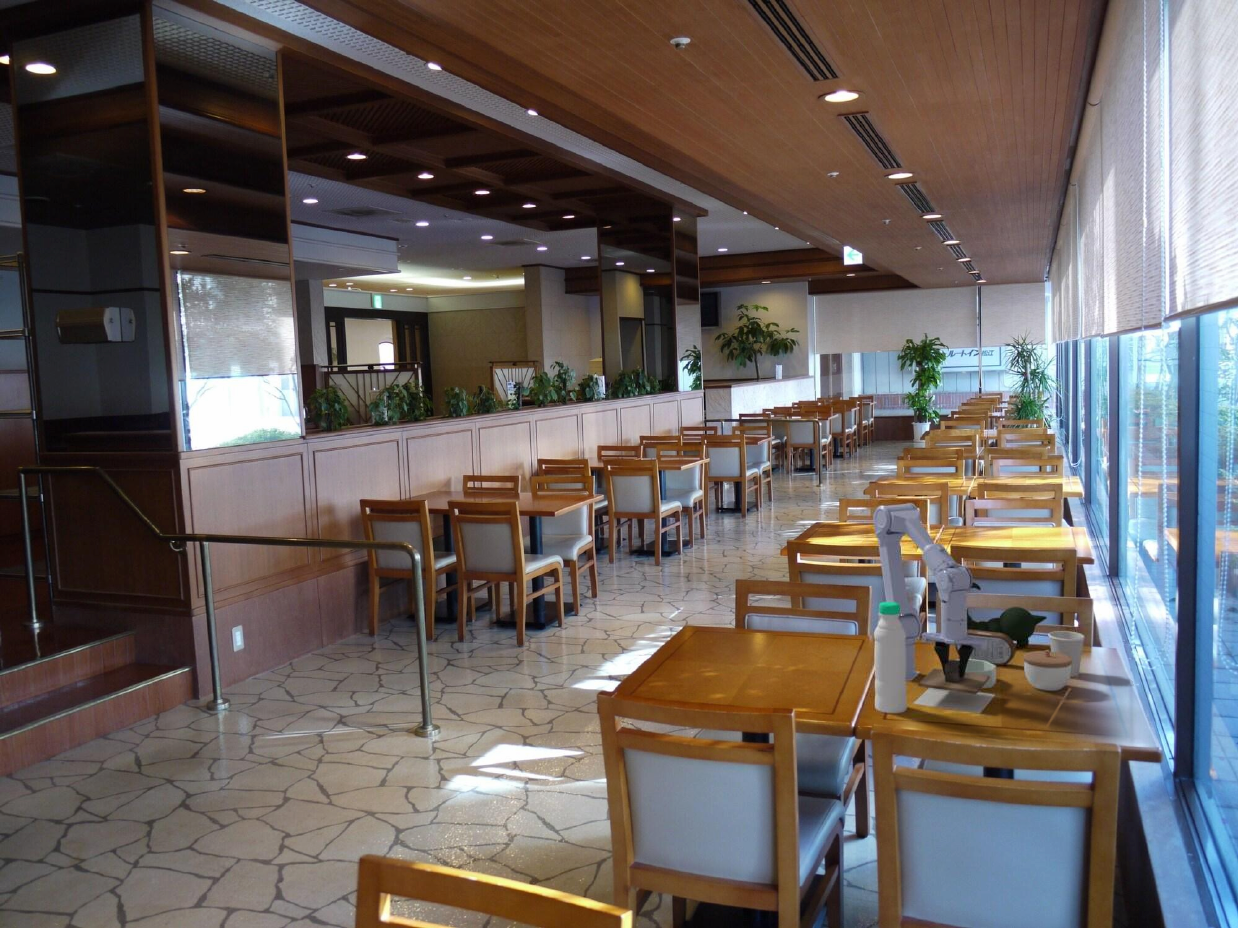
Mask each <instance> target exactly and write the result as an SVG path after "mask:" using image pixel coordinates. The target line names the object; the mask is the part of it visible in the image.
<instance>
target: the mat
mask: <svg viewBox="0 0 1238 928" xmlns="http://www.w3.org/2000/svg"><path fill="white" fill-rule="evenodd" d="M995 696H996V694H994V693H987V692H980V691H979V692H978V693H977V694H970V693H963V692H956V691H949V690H942V689H935V688H927V690H925V692H924V693H923V694H921V695H920V696H919V697H918V698H917V699H916V700H915V701H914V702H913V703H912V704H913V705H920V706H926V707H932V708H940V709H947V710H953V711H958V712H965V713H966V712H967V713H973V714H979V715H980V714H981V713H982V712H983V711H984V709H985V708H986V707H987V706H988V705H989V703H990V702H991V701H992V700H993V699H994V697H995Z"/></svg>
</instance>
